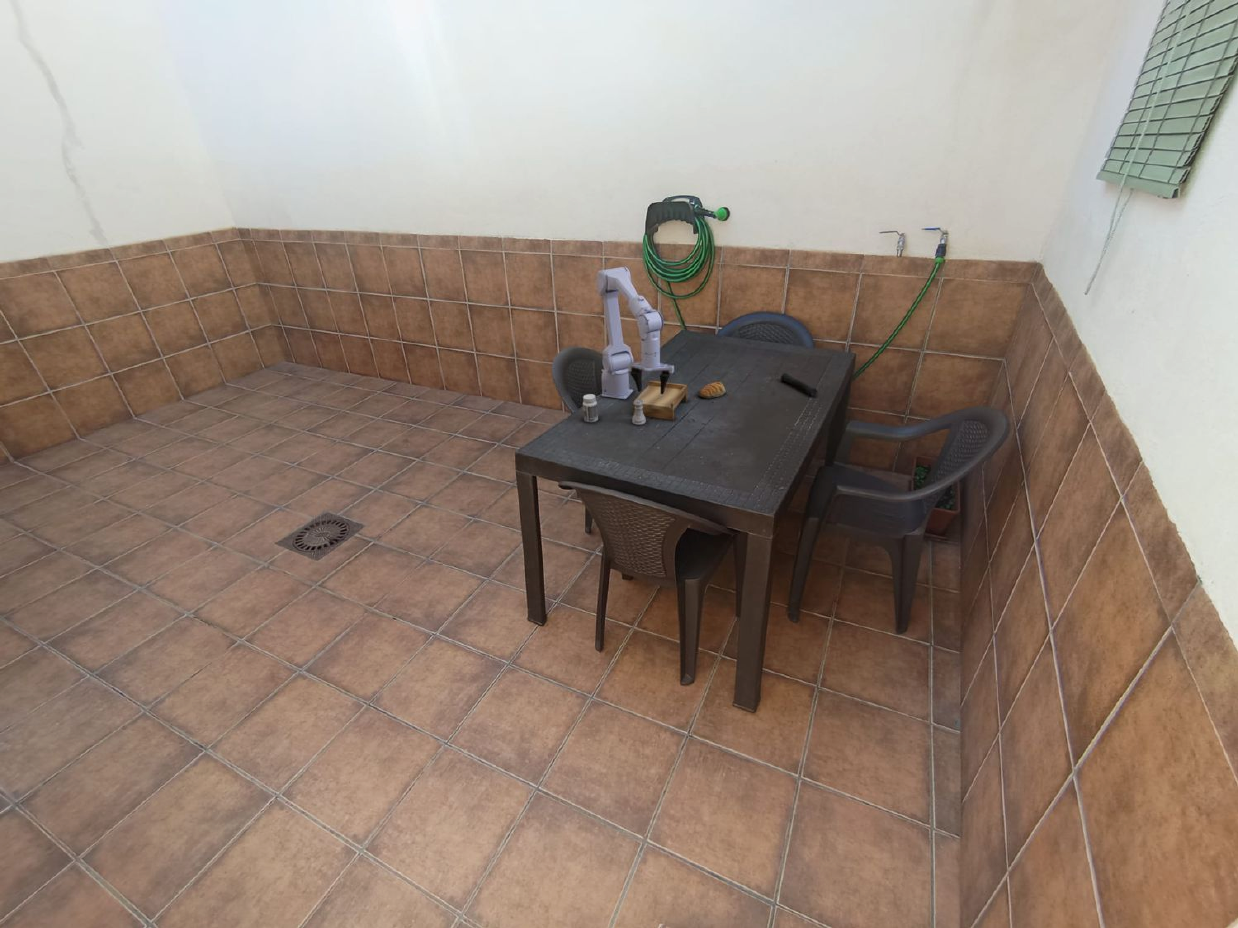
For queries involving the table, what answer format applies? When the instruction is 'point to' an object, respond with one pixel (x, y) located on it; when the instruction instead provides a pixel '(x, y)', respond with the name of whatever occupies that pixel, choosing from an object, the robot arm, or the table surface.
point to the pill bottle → (590, 408)
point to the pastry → (712, 390)
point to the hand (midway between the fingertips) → (651, 391)
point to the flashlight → (798, 384)
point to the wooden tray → (662, 399)
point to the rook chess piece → (638, 413)
